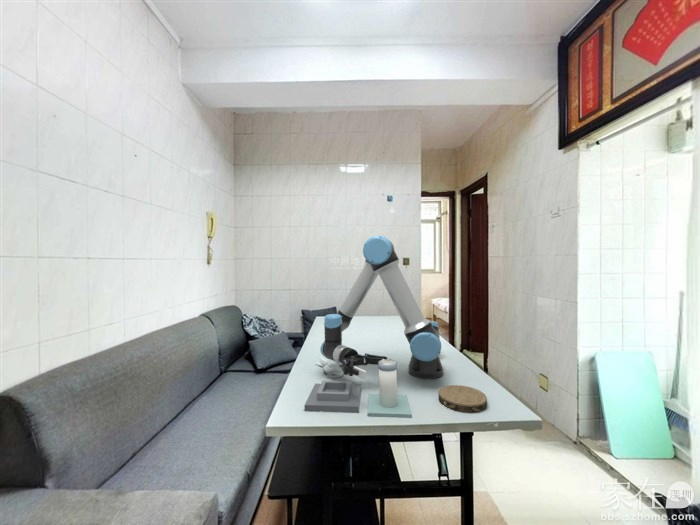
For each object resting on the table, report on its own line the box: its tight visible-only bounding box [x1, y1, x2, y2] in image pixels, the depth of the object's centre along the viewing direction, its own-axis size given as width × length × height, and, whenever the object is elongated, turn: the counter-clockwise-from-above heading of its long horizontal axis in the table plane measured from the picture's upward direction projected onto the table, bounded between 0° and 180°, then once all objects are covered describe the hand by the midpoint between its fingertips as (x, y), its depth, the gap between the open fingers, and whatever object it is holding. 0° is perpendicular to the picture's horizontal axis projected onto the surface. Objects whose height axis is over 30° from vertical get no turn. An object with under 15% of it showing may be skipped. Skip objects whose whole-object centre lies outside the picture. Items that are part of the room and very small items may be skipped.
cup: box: [377, 358, 398, 408], centre depth 102 cm, size 6×6×14 cm
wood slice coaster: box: [438, 384, 488, 414], centre depth 105 cm, size 16×16×3 cm
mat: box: [367, 393, 413, 418], centre depth 102 cm, size 14×14×1 cm
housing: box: [304, 380, 362, 414], centre depth 107 cm, size 18×18×4 cm
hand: (380, 371), depth 104 cm, fingers open, 13 cm apart
